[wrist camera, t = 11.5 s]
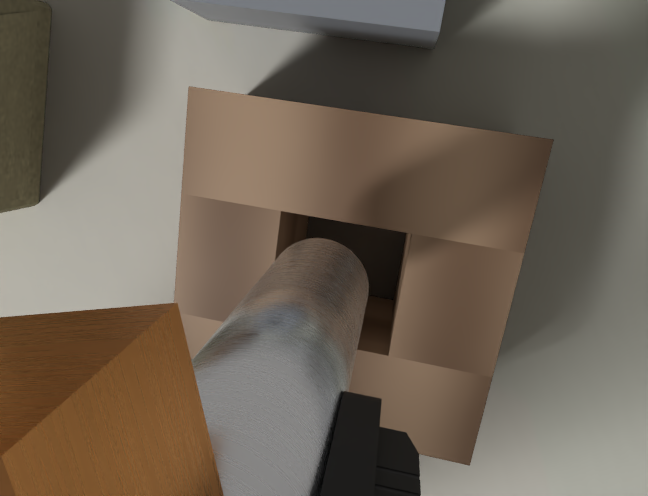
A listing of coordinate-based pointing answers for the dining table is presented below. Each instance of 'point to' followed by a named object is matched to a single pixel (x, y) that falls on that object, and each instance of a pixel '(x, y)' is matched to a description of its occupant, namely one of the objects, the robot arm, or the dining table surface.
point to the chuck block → (375, 211)
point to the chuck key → (185, 390)
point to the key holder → (334, 17)
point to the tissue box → (22, 99)
